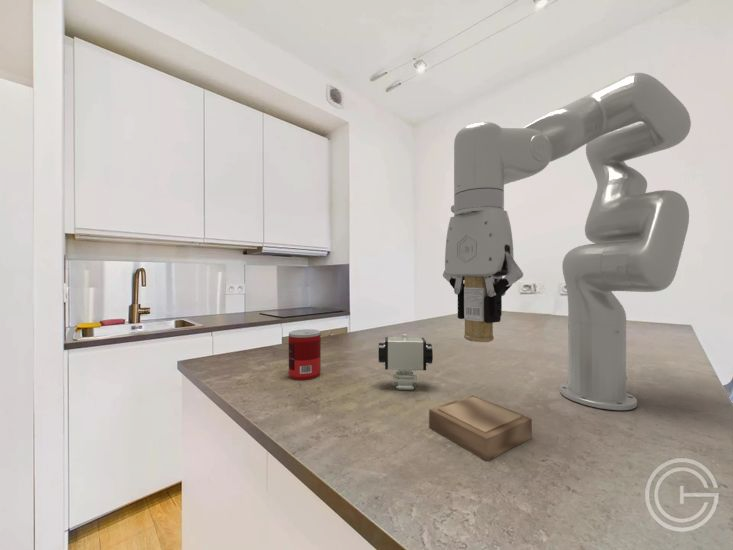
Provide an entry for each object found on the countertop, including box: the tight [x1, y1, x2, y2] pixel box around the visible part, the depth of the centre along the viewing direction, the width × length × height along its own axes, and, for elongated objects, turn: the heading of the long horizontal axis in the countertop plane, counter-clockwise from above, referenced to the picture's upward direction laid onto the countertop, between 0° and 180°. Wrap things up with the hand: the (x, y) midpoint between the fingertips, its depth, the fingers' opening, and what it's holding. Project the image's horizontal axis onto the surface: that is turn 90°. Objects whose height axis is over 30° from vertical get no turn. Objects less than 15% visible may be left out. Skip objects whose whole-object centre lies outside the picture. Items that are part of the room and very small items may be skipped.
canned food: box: [288, 328, 322, 381], centre depth 78 cm, size 8×8×11 cm
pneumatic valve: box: [378, 333, 434, 391], centre depth 70 cm, size 6×12×12 cm, turn 86°
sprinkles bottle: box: [463, 276, 495, 343], centre depth 49 cm, size 5×5×14 cm
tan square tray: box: [428, 395, 533, 462], centre depth 49 cm, size 11×11×3 cm
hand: (478, 318), depth 49 cm, fingers closed on sprinkles bottle, 4 cm apart
